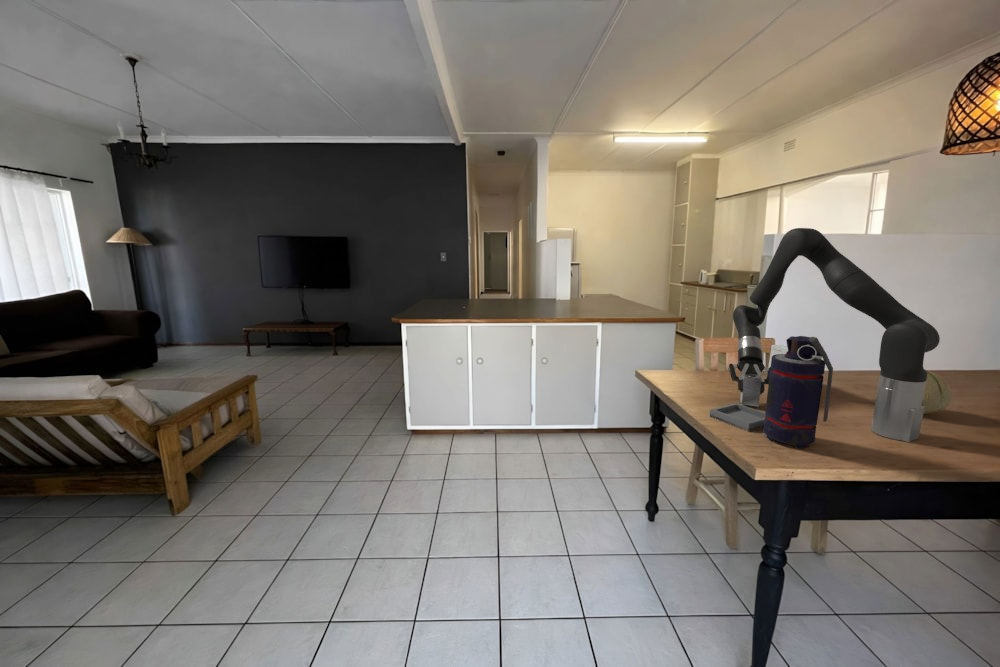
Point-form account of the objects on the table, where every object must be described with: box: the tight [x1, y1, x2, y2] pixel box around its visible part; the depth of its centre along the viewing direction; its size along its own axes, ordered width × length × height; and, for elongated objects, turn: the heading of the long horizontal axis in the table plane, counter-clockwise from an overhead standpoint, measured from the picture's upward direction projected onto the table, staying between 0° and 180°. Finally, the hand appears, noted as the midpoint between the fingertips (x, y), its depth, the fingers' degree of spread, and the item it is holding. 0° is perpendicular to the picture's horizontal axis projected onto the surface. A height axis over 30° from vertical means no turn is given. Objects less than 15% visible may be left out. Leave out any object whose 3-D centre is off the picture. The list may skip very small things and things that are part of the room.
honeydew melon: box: [921, 370, 953, 415], centre depth 129 cm, size 15×15×15 cm
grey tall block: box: [739, 374, 761, 408], centre depth 137 cm, size 5×5×10 cm
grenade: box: [763, 335, 834, 449], centre depth 108 cm, size 14×12×30 cm
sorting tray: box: [709, 402, 766, 432], centre depth 126 cm, size 13×13×2 cm
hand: (751, 392), depth 135 cm, fingers closed on grey tall block, 5 cm apart
